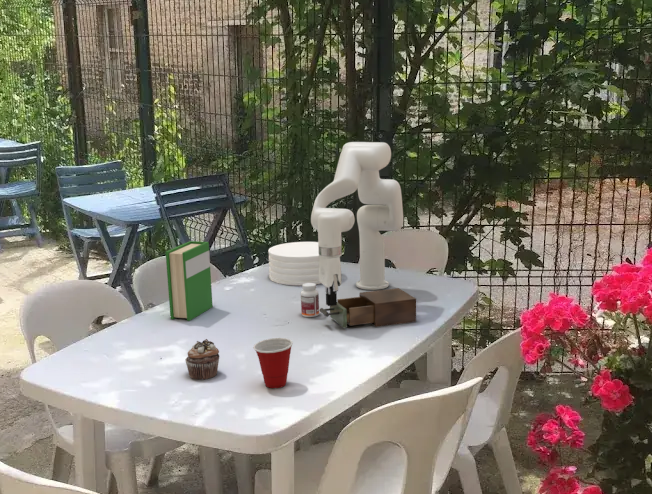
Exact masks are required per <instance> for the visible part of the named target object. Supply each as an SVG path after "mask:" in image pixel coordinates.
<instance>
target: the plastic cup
mask: <svg viewBox="0 0 652 494" xmlns="http://www.w3.org/2000/svg"><path fill="white" fill-rule="evenodd" d="M293 344H294V341H293V340H292V339H290V338H288V337H287V338H286V337H271V338H267V339H263V340H261V341H258V342H256V343H255V344H254V345H253V347H252V348H253V349H254V351H255V353H256V356H257V358H258V362H259V365H260V370H261V374H262V378H263V382H264V385H265V387H267V388H269V389H280V388H283V387H285V386H286V384H287V382H288V375H289V374H288V373H289V368H290V367H289V366H290V359H291V353H292V347H293Z"/></svg>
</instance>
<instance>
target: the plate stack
mask: <svg viewBox="0 0 652 494" xmlns="http://www.w3.org/2000/svg"><path fill="white" fill-rule="evenodd" d="M268 267H269V268H268V273H269V275H268V276H269V277H268V278H269V280H270V281H272V282H273V283H276V284H280V285H287V286H303V284H305V283H315V284H316V285H321V284H322V283H321V282H320V281H319V247H318V241H294V242H293V241H292V242H286V243H280V244H277V245H273V246H271V247H269V248H268ZM322 285H323V284H322Z"/></svg>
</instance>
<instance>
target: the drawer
mask: <svg viewBox="0 0 652 494" xmlns="http://www.w3.org/2000/svg"><path fill="white" fill-rule="evenodd" d="M319 313H321V314H322V315H323V316H325V317H326V318H328V317H329V318H331V320H333V321H334V322H336V323H337V324H338V325H339V326H340V327H342V328H343V329H346V328H348V325H349V326H351V327H352V326H358V325H366V324H371V323H375V305H374V304H372V303H371V302H369V301H368V300H366V299H365V298H363V297H359V296H354V297H346V298H337V305H333V306H329V307H328V308H323V307H321V308H320V307H319Z"/></svg>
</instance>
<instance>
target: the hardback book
mask: <svg viewBox="0 0 652 494" xmlns="http://www.w3.org/2000/svg"><path fill="white" fill-rule="evenodd" d="M209 242H210V241H197V240H189V241H187V242H185V243H182V244H180V245H177V246H176V247H173V248H171V249H168V250H166V251H165V262H166V263H165V264H166V276H167V290H168V304H169V318H170V320H175V319H177V318H178V319H186V322H190V321H192V320H194V319H196V318H197V317H199V316H200V315H202V314H203V313H206V312H207V311H209V310H210V309H211V308H213V306H214V304H213V290H212V275H211V274H212V273H211V257H210V246H209V245H210V243H209ZM170 316H171V317H170Z"/></svg>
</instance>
